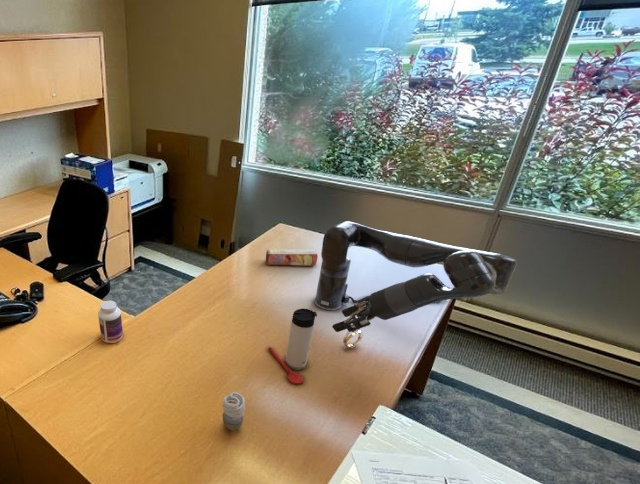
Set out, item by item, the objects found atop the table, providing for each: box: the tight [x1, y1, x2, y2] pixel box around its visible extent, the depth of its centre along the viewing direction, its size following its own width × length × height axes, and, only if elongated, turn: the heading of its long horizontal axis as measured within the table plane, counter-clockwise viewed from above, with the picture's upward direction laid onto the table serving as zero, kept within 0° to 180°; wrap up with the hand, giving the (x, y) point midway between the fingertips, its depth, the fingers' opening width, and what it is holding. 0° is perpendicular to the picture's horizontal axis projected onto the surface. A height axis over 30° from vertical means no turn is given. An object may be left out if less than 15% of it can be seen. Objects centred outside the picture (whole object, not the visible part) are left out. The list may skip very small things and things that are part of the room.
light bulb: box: [222, 391, 246, 431], centre depth 110 cm, size 6×6×12 cm
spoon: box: [268, 346, 304, 386], centre depth 132 cm, size 17×4×1 cm, turn 14°
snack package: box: [265, 249, 319, 267], centre depth 187 cm, size 21×7×7 cm, turn 79°
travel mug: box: [284, 308, 318, 371], centre depth 128 cm, size 6×7×20 cm
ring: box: [342, 328, 364, 349], centre depth 136 cm, size 7×3×8 cm, turn 104°
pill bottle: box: [97, 300, 124, 344], centre depth 147 cm, size 8×8×14 cm
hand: (339, 321), depth 118 cm, fingers open, 8 cm apart
